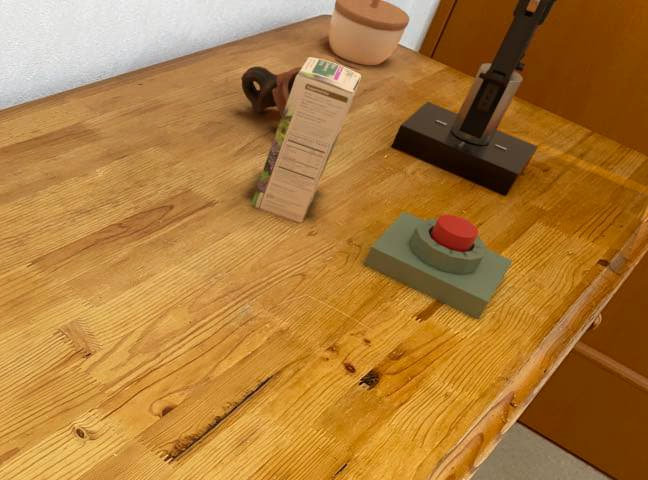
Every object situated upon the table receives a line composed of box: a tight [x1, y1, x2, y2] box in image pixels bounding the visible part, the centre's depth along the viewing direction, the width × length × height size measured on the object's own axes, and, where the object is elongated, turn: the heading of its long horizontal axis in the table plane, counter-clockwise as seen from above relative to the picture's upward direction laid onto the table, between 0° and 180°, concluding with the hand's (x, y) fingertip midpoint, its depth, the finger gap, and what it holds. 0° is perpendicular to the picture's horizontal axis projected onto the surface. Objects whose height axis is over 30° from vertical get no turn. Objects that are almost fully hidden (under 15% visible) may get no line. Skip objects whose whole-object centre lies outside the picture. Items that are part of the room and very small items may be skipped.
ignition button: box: [430, 214, 479, 252], centre depth 83 cm, size 4×4×2 cm
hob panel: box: [391, 101, 539, 197], centre depth 107 cm, size 15×11×3 cm
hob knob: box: [451, 62, 523, 145], centre depth 103 cm, size 5×5×8 cm
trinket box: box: [328, 0, 410, 71], centre depth 123 cm, size 11×11×9 cm
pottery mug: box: [241, 66, 303, 136], centre depth 103 cm, size 12×10×8 cm
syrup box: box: [250, 56, 363, 224], centre depth 85 cm, size 6×6×14 cm
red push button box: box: [363, 210, 514, 320], centre depth 84 cm, size 12×10×4 cm
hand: (474, 126), depth 105 cm, fingers closed on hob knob, 5 cm apart
